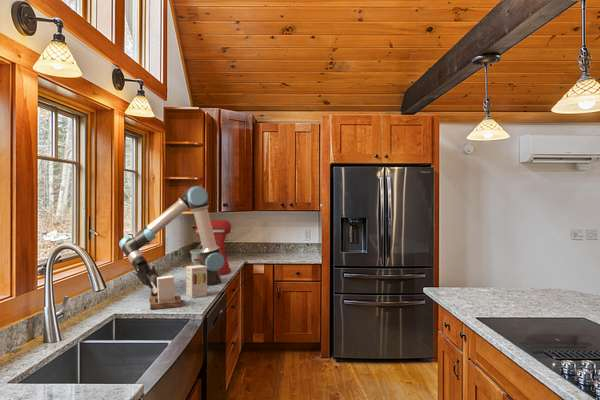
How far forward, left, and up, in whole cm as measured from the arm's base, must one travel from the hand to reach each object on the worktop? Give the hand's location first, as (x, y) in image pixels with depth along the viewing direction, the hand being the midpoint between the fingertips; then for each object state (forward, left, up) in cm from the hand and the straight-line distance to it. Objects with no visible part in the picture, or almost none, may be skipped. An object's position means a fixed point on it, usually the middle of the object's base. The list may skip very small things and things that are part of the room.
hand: (159, 291), depth 220 cm
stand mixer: (-35, -72, -5) cm, 80 cm away
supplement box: (-20, -3, -5) cm, 21 cm away
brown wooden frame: (-3, +7, -4) cm, 9 cm away
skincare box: (-4, +12, -5) cm, 14 cm away
